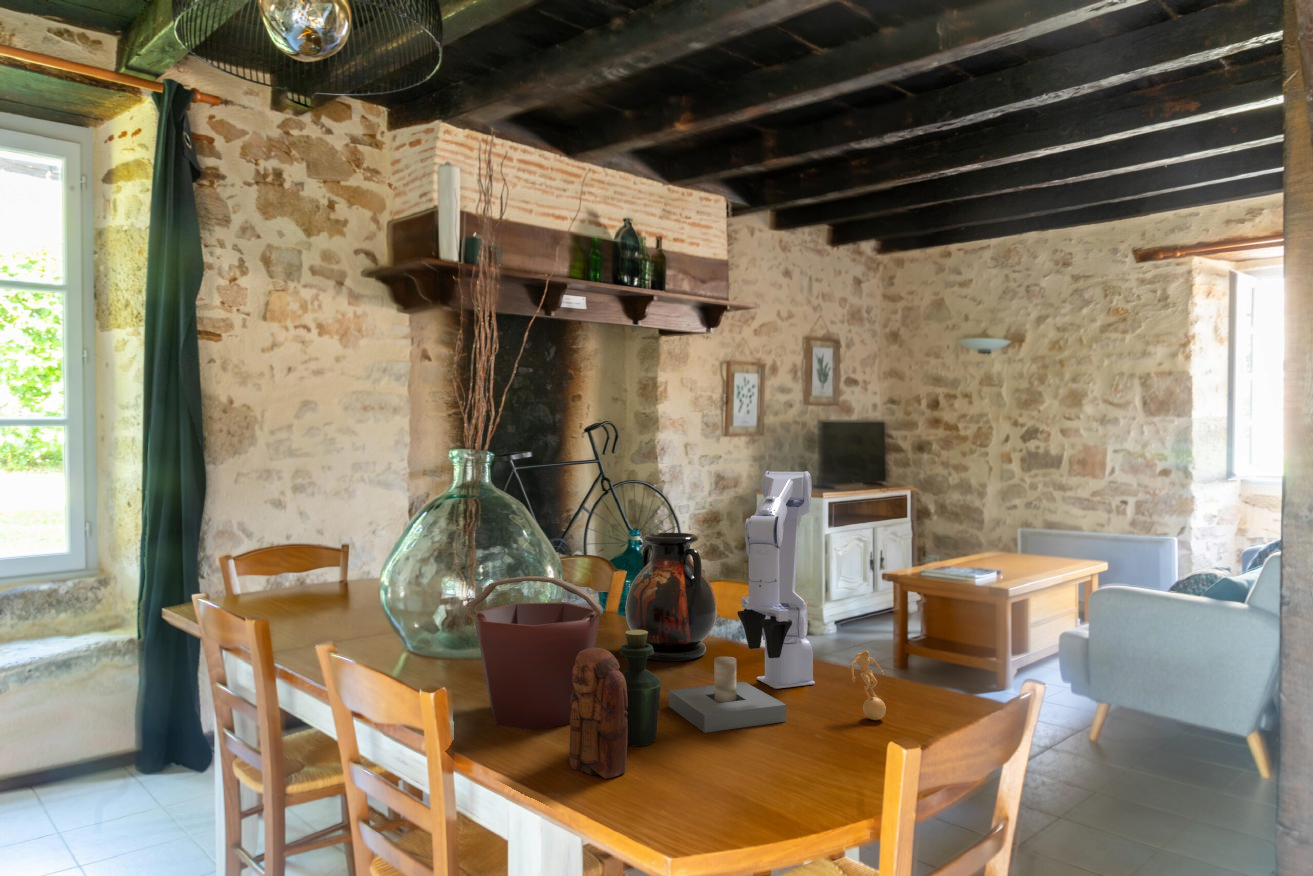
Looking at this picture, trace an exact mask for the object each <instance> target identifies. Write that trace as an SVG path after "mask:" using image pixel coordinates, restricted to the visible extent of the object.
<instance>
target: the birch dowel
mask: <svg viewBox="0 0 1313 876" xmlns="http://www.w3.org/2000/svg"><path fill="white" fill-rule="evenodd" d="M713 659H714V662H713V665H714V669H713V670H714V671H713V672H714V674H713V676H714V679H713V680H714V683H713V685H714V701H716V702H717V703H725V702H733V701H736V683H737V658H735V657H732V656H724V655H723V656H717V657H715V658H713Z"/></svg>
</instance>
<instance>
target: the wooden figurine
mask: <svg viewBox="0 0 1313 876" xmlns="http://www.w3.org/2000/svg"><path fill="white" fill-rule="evenodd" d="M620 668H621V666H620V663H619V660H618V659H617V658H616V657H615V655H614V654H613V653H611V652H610V651H608V649H607V650H606V649H605V648H601V647H595V648H588V649H585V650H582V651H581V652H579V653H578V655H577V657H576V660H575V665H574V667H573V677H572V681H573V686H574V689H573V691H572V694H571V697H570V708H571V712H570V724H569V757H568V758H569V765H570V767H571V769H573V770H574V771H575V770H576V771H578V770H579V771H581V772H582V773H586V774H587V775H589V776H596V775H599V776H600V777H602V778H603V779H613V778H614V777H618V776H620V775H622V774H624V773H626V771H627V760H628V758H627V757H628V745H627V742H628V741H627V733H628V721H627V717H626V716H627V715H628V712H627V711H626V710H627V708H628V698H627V686H626V680H625V678H624V676H623V674H622V672H621V671H620V670H619V669H620Z"/></svg>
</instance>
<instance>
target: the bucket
mask: <svg viewBox="0 0 1313 876" xmlns="http://www.w3.org/2000/svg"><path fill="white" fill-rule="evenodd" d="M519 582H541V583H547V584H548V583H550V584H553V585H554V586H558V587H560V588H564V589H565V590H567V591H570V592H571V593H573V594H575V595H576V596H577V597H580V598H582V599H583V600H584V601H585V602H586V603H587V604H588V605H589V606H590V607H588V606H584V605H581V604H576V603H572V602H565V601H564V602H562V601H561V602H560V601H559V602H513V603H509V604H504V605H500V606H494V607H490V608H486V609H482V610H477V611H476V610H475V608H476V606H477V605H479V604H480V603H482V602H483V601H484V600H486V599H487V598H488V597H489V596H490V595H491V594H492V593H493V591H495V589H496V588H497V586H499V587H500V586H502V585H507V584H508V585H509V584H512V583H519ZM467 606H468V607H469V608H470V612H471V615H472V616H474V618H475V619H476V620H475V624H476V625H475V627H476V633H477V639H478V644H479V645H478V646H479V649H480V655H481V659H482V666H483V672H484V677H485V678H484V679H485V683H486V688H487V693H488V698H489V704H490V705H489V706H490V711H491V714H492V717H493V719H494V722H495V725H496V726H500V727H507V728H513V729H514V728H515V729H520V730H526V731H527V730H528V731H538V730H544V729H551V728H556V727H560V726H561V727H562V726H567V725H570V712H571V708H570V697H571V694H572V691H573V689H574V686H573V681H572V677H573V667H574V665H575V660H576V657H577V655H578V653H579V652H581V651H582V650H585V649H588V648H596V644H597V638H598V634H599V629H600V616H601V615H603V613H604V609H603V607H602V605H601V604H600V603H599V602H598V601H597V600H596V599H595V597H594V596H593V595H592V594H590V593H589V592H588V591H585V590H584V589H582V588H580V587H578V586H577V585H575V584H573V583H570V582H568V581H566V580H563V579H560V578H557V577H550V576H539V575H538V576H536V575H534V576H533V575H528V576H517V577H516V576H515V577H512V578H506V579H501V580H497V581H494V582H491V583H489V584H488V585H487V586H486V587H485V588H484V590H483V591H482V592H481V593H480V594H479V595H478V596H477V597H475V598H472V599H471V600H470V601H469V602H468V603H467Z"/></svg>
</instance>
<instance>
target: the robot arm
mask: <svg viewBox="0 0 1313 876" xmlns="http://www.w3.org/2000/svg"><path fill="white" fill-rule="evenodd" d="M812 482H813V481H812V475H811V474H810V472H809V471H808V470H807V471H771V470H766V471H765V472H764V473H763V476H762V480H761V490H762V496H763V499H761V500H760V502H759V504H758V506H757V507H756V510H755V512H754V514H753V515H751V516H750V517H748V518H746V520H745V524H744V538H745V539H744V540H745V541H744V542H745V546H746V550H745V552H746V555H747V556H748V596H746V597H744V596H743V597H741V608H742V609H743V610H738V611H737V613H736V614H737V616H738V618H739V620H740V622H741V623H742V626H743V629H744V633H745V637H746V643H747V646H748V647H747V648H748V649H749V650H755V649H757V650H758V649H761V645H762V641H764V675H761V676H757V677H756V680H758V681H760V682H762V683H764V684H766V685H767V686H769V687H771V688H773V689H775V690H776V689H777V690H778V689H783V688H784V689H785V688H792V687H800V686H809V685H815V684H816V682H815V680H814V653H813V647H812V645H811V642H810V641H809V640H808V638H806V636H807V634H808V624H809V623H808V622H809V620H808V619H809V617H808V605H807V602H806V600H805V599H804V598H803V597H801V596H800V595H799V594H797V592H796V580H797V563H798V549H799V535H800V533H799V532H800V524H801V521H802V517H803V516H805V515H807V514H808V513H809V512H810V509H811V506H812V504H811V503H812V490H813V487H812Z"/></svg>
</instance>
